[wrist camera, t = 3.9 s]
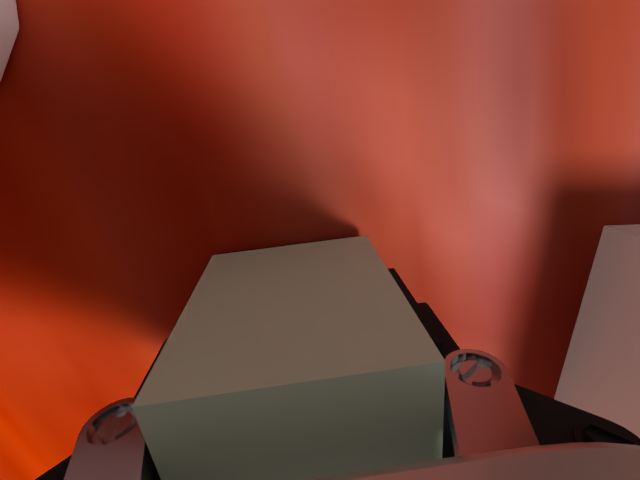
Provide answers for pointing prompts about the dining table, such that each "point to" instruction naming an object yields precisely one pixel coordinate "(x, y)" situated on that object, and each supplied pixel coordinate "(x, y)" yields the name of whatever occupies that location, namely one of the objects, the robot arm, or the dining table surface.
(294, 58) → the dining table surface
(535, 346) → the dining table surface
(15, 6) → the white cup
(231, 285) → the green block
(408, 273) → the dining table surface
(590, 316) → the base slab
